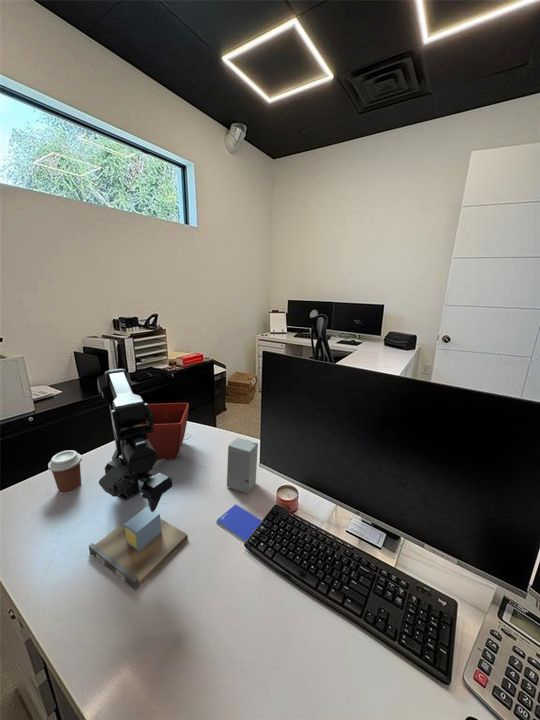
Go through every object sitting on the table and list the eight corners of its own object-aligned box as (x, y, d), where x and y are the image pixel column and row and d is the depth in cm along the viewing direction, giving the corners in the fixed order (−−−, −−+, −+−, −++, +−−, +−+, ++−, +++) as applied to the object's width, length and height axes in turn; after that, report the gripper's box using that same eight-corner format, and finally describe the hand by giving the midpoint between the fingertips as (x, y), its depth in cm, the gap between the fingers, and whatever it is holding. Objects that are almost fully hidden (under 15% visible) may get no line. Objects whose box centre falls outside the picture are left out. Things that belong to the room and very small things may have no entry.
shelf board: (89, 554, 75) (87, 546, 74) (143, 512, 89) (143, 505, 88) (134, 591, 66) (133, 583, 66) (187, 538, 80) (187, 531, 79)
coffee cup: (66, 500, 93) (59, 467, 90) (47, 492, 96) (39, 460, 93) (92, 482, 101) (87, 451, 98) (74, 475, 104) (68, 445, 101)
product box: (149, 524, 83) (147, 506, 81) (161, 531, 80) (159, 513, 79) (126, 543, 77) (123, 524, 75) (138, 552, 74) (136, 532, 73)
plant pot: (146, 439, 128) (142, 403, 124) (191, 437, 130) (189, 402, 126) (131, 466, 110) (126, 425, 105) (184, 464, 112) (181, 423, 107)
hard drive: (216, 519, 85) (248, 542, 78) (236, 503, 92) (267, 523, 84) (216, 524, 86) (248, 547, 78) (236, 507, 92) (267, 527, 85)
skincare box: (226, 487, 100) (225, 446, 95) (236, 475, 106) (235, 435, 102) (249, 495, 97) (249, 452, 92) (258, 481, 103) (258, 441, 99)
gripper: (78, 454, 70) (88, 509, 74) (129, 482, 61) (137, 543, 65) (122, 434, 79) (129, 484, 83) (171, 455, 70) (176, 510, 74)
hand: (141, 503), depth 76 cm, fingers open, 9 cm apart
